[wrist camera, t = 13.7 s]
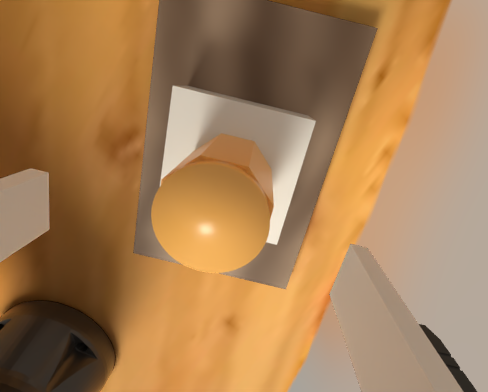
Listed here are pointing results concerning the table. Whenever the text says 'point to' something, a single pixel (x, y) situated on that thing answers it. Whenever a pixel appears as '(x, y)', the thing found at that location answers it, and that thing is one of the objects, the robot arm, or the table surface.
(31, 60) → the table surface
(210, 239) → the orange acorn nut
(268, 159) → the box
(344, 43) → the mounting board
